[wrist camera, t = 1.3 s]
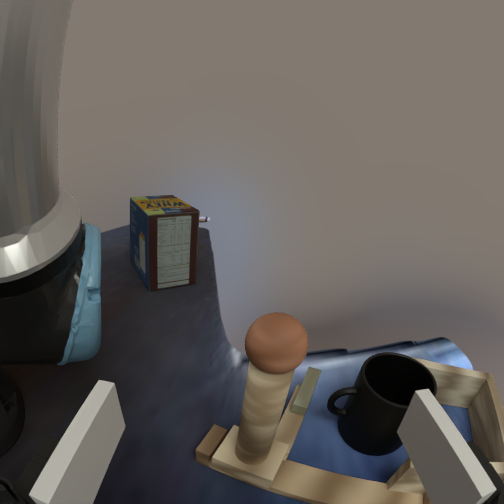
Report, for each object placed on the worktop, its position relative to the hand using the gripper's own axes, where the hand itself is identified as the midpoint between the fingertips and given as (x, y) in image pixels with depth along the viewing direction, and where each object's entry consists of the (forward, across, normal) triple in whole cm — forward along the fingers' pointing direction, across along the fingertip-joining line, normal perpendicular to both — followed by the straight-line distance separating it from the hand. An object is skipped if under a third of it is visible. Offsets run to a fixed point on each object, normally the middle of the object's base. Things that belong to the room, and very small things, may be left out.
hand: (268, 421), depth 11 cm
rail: (+8, +7, -19) cm, 22 cm away
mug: (+16, +14, -18) cm, 28 cm away
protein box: (+54, -20, -12) cm, 58 cm away
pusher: (+16, +2, -17) cm, 23 cm away
